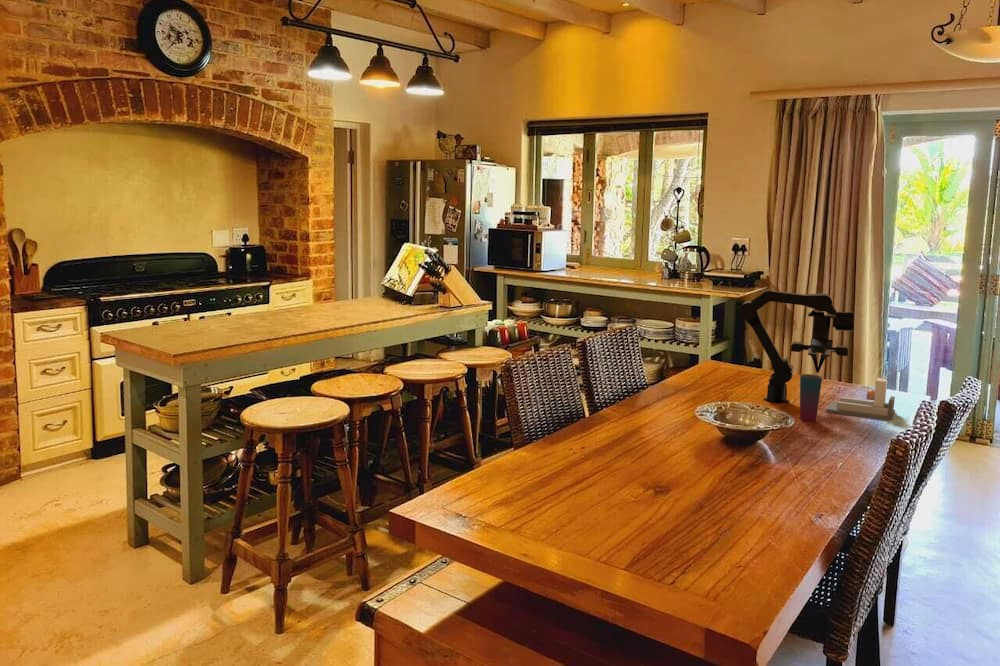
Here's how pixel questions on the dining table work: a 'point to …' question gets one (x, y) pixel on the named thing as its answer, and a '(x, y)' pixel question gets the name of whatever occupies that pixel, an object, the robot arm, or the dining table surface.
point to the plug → (878, 393)
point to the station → (863, 408)
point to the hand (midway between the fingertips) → (817, 372)
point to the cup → (809, 396)
